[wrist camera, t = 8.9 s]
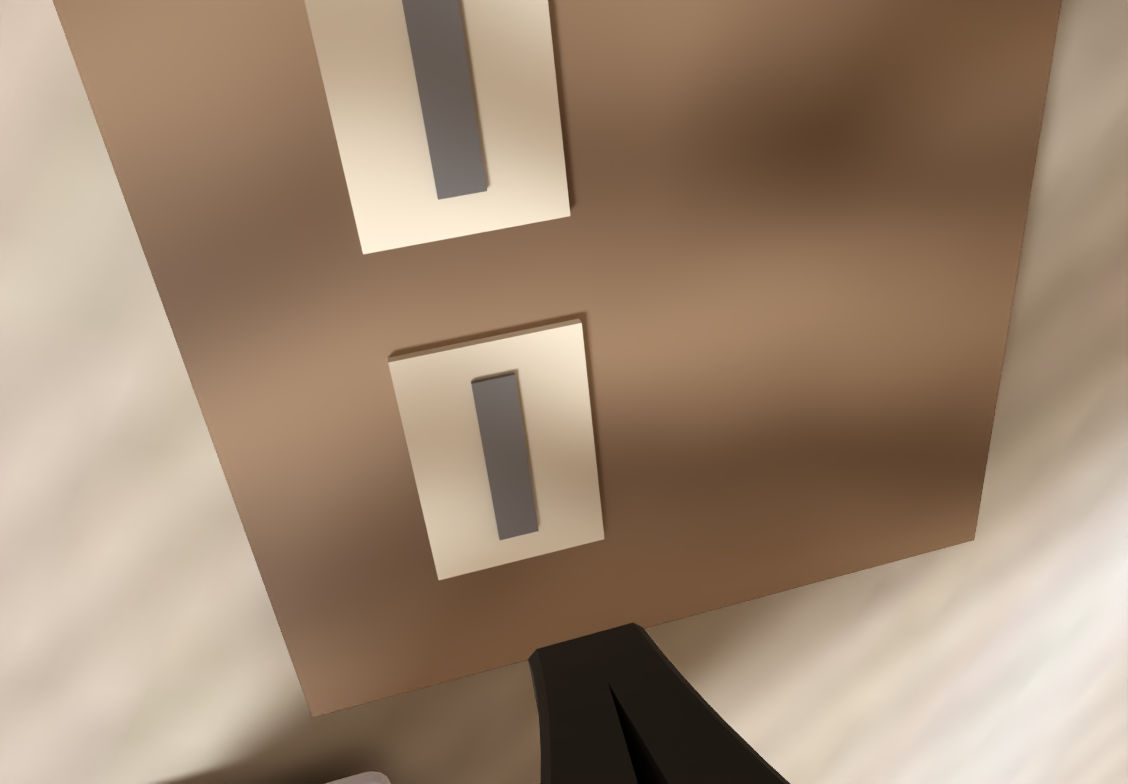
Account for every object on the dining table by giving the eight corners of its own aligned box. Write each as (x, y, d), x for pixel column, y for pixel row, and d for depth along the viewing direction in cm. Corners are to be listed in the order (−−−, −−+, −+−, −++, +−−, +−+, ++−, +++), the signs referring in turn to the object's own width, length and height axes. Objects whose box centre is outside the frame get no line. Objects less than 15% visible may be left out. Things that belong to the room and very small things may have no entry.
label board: (937, 505, 23) (987, 552, 21) (312, 666, 20) (312, 736, 18) (1080, -587, 13) (1197, -664, 11) (-109, -548, 10) (-194, -640, 9)
